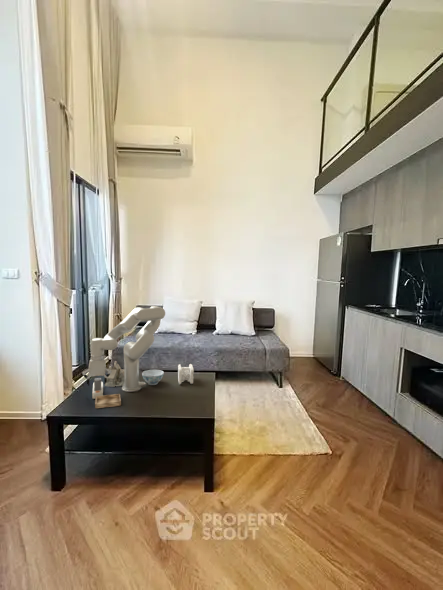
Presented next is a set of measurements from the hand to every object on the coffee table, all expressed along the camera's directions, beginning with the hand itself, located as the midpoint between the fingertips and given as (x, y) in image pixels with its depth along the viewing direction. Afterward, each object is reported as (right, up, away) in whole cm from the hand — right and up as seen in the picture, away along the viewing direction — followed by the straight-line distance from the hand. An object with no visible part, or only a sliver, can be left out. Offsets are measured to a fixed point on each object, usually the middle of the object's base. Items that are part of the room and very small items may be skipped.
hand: (96, 384), depth 200 cm
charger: (0, -5, +1) cm, 5 cm away
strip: (-1, -6, +4) cm, 7 cm away
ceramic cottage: (+7, -6, +21) cm, 23 cm away
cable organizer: (+53, -6, +28) cm, 60 cm away
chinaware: (+31, -6, +23) cm, 39 cm away
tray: (+12, -8, -12) cm, 18 cm away
